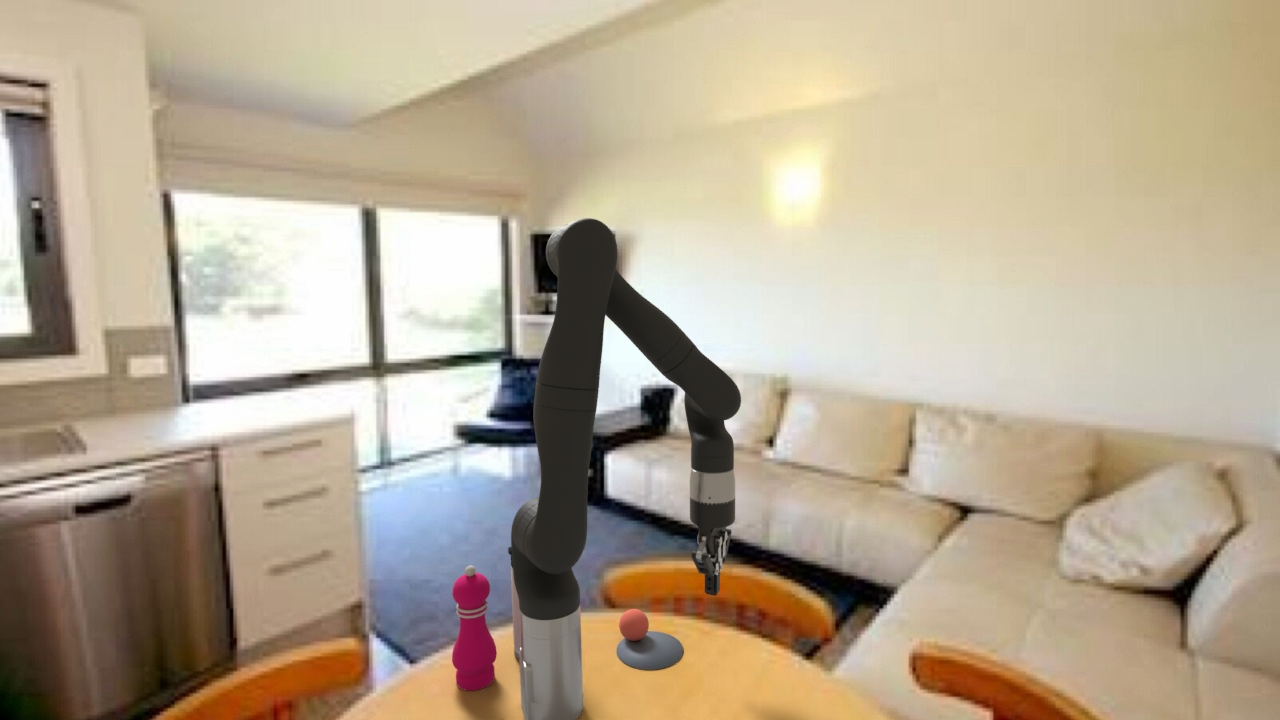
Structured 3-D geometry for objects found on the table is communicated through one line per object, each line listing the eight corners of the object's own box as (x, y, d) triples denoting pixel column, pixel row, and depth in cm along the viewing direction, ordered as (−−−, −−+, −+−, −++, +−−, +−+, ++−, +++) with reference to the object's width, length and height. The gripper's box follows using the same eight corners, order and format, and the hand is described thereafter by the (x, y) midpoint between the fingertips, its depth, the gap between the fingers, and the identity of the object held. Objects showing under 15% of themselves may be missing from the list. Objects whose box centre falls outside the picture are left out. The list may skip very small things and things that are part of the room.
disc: (627, 675, 109) (627, 674, 109) (608, 638, 120) (608, 637, 120) (693, 662, 113) (693, 661, 113) (669, 627, 124) (669, 626, 124)
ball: (629, 649, 116) (619, 619, 117) (621, 642, 121) (611, 613, 122) (656, 636, 118) (646, 606, 119) (647, 629, 123) (638, 601, 124)
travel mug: (508, 648, 118) (504, 542, 115) (543, 639, 121) (540, 536, 118) (517, 666, 112) (512, 556, 110) (553, 656, 115) (550, 548, 113)
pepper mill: (486, 695, 104) (480, 577, 102) (445, 690, 106) (438, 574, 103) (504, 669, 111) (499, 558, 109) (465, 664, 113) (460, 555, 110)
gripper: (719, 509, 100) (719, 616, 102) (746, 485, 111) (746, 581, 114) (675, 502, 103) (676, 605, 105) (705, 479, 115) (706, 572, 117)
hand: (712, 592), depth 109 cm, fingers closed
